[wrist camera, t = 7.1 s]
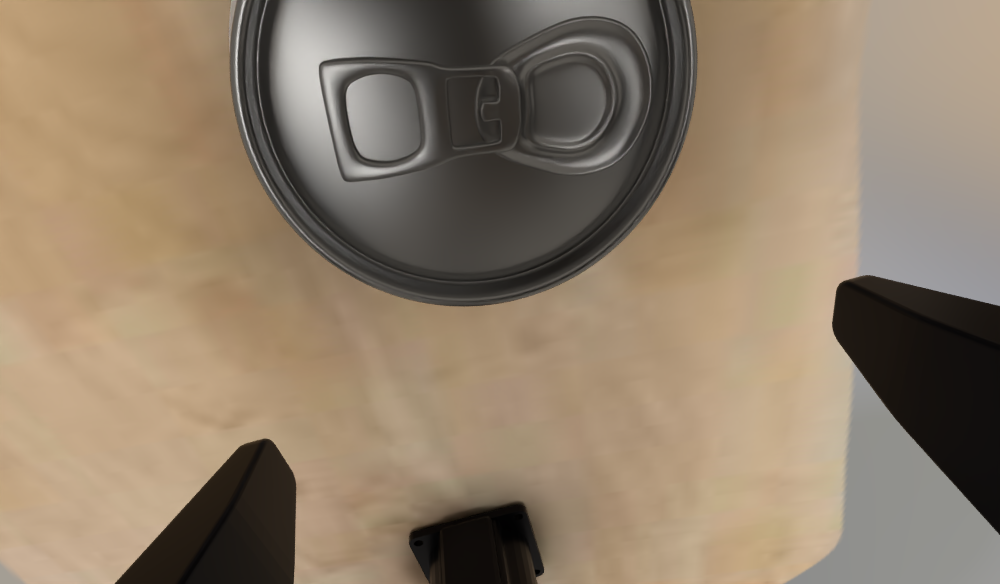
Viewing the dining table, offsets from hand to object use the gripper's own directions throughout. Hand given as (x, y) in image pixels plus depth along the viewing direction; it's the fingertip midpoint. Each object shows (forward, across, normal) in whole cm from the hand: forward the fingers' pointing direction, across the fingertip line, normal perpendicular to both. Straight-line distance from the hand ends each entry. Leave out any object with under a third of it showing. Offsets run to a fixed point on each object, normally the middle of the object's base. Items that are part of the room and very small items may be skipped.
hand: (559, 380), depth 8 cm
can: (+13, 0, -4) cm, 13 cm away
